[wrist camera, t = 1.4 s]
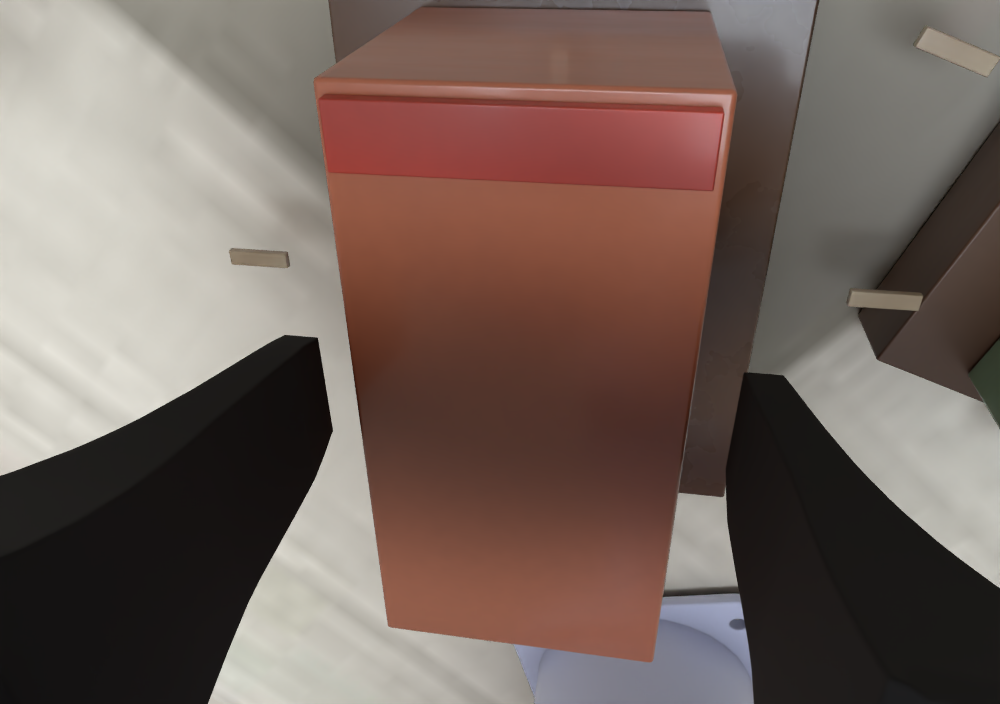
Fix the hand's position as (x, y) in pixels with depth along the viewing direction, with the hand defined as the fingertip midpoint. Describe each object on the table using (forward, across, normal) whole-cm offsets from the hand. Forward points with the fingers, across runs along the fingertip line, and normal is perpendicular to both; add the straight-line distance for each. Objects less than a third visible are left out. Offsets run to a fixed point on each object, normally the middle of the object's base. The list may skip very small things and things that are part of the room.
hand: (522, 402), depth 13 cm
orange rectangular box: (+5, 0, 0) cm, 5 cm away
